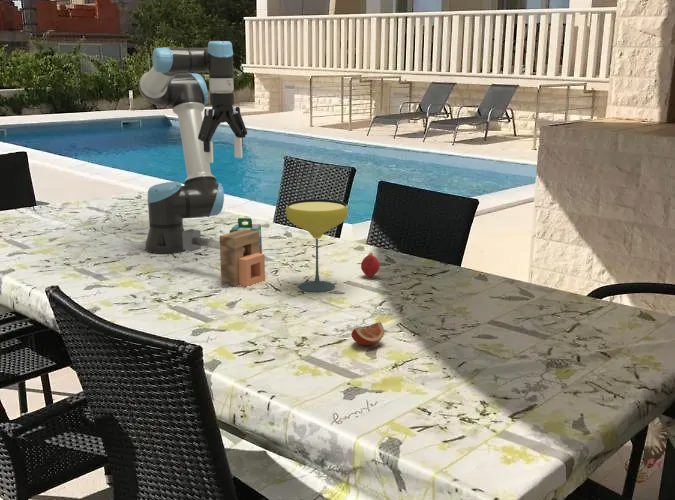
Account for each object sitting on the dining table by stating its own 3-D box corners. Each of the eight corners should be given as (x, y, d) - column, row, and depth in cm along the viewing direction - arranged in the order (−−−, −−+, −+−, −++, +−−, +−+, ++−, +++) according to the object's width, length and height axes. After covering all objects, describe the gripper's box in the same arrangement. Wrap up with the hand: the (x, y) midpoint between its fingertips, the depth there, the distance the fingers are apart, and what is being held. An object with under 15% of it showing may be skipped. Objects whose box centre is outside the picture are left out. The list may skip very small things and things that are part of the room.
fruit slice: (372, 336, 188) (372, 317, 186) (390, 344, 183) (390, 325, 181) (345, 344, 183) (346, 324, 182) (363, 352, 178) (363, 332, 176)
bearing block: (221, 283, 231) (219, 235, 227) (245, 274, 239) (243, 229, 236) (236, 286, 227) (234, 238, 224) (259, 278, 236) (258, 231, 232)
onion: (377, 280, 234) (378, 255, 232) (359, 279, 235) (359, 254, 233) (380, 275, 240) (381, 250, 238) (362, 274, 241) (362, 249, 239)
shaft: (183, 249, 242) (182, 231, 241) (192, 247, 245) (191, 229, 244) (239, 261, 229) (239, 241, 228) (248, 258, 232) (248, 239, 231)
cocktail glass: (340, 297, 217) (341, 212, 211) (279, 293, 221) (278, 209, 214) (352, 280, 234) (352, 200, 228) (295, 276, 238) (294, 198, 232)
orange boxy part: (239, 286, 228) (238, 258, 226) (257, 279, 235) (256, 252, 233) (246, 287, 227) (246, 260, 225) (265, 280, 234) (264, 254, 231)
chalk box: (262, 257, 261) (261, 214, 257) (257, 264, 252) (256, 220, 248) (236, 256, 262) (235, 214, 258) (230, 263, 253) (228, 219, 249)
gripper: (202, 94, 225) (205, 165, 230) (257, 91, 245) (258, 156, 250) (184, 93, 229) (187, 163, 234) (239, 90, 249) (241, 154, 254)
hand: (224, 160), depth 242 cm, fingers open, 13 cm apart
